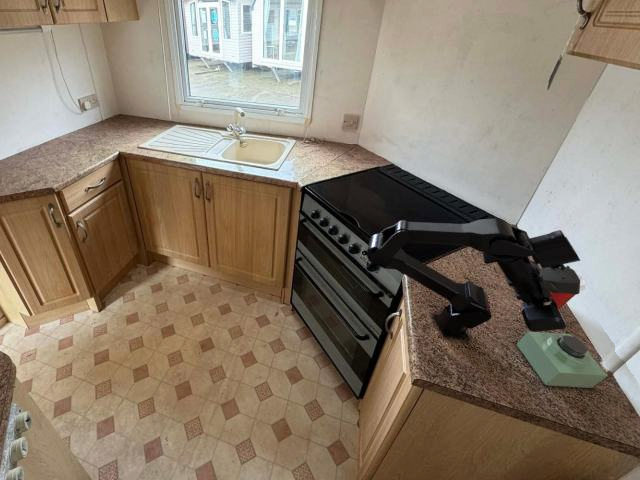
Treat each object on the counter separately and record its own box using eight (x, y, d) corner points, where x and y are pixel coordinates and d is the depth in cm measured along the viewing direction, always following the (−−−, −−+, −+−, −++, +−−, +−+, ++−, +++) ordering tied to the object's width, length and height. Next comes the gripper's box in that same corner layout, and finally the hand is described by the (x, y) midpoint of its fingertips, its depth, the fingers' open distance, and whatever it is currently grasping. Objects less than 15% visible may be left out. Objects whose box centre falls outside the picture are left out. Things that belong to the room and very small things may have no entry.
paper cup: (541, 298, 94) (569, 265, 86) (563, 320, 88) (596, 287, 80) (517, 297, 94) (543, 264, 86) (537, 320, 87) (568, 286, 80)
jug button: (568, 357, 70) (573, 352, 69) (552, 339, 74) (557, 334, 73) (586, 358, 70) (592, 353, 69) (570, 340, 74) (576, 335, 73)
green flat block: (545, 385, 72) (565, 368, 68) (516, 344, 80) (531, 327, 76) (591, 388, 72) (613, 371, 68) (557, 346, 80) (575, 329, 76)
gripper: (583, 292, 56) (618, 352, 59) (550, 234, 71) (579, 284, 73) (511, 303, 63) (545, 356, 66) (494, 248, 78) (522, 293, 80)
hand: (549, 320), depth 71 cm, fingers closed
